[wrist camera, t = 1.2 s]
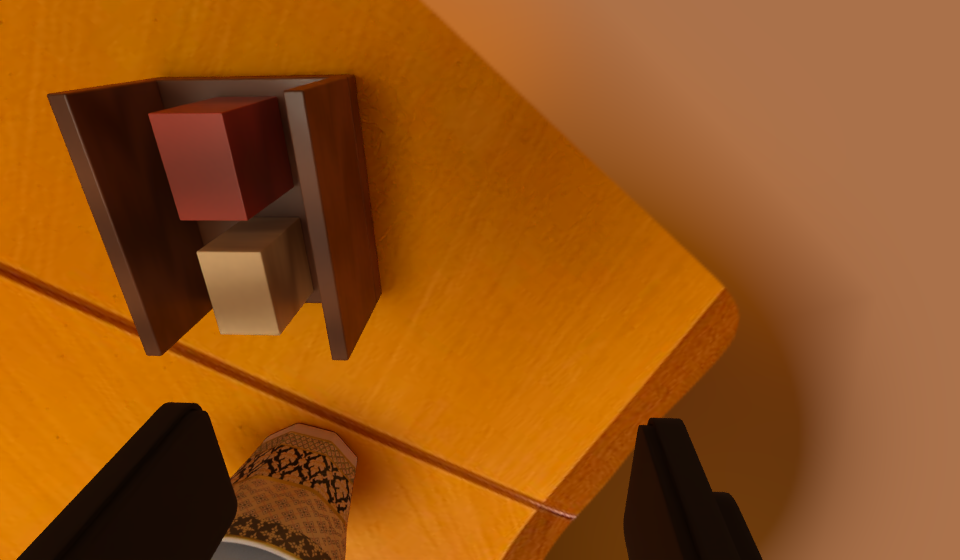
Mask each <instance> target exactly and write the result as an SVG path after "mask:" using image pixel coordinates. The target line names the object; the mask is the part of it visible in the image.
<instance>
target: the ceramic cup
mask: <svg viewBox="0 0 960 560" xmlns="http://www.w3.org/2000/svg"><path fill="white" fill-rule="evenodd" d="M356 465H357V457H356V456H355V454H354V453H353V452H352V451H351V450H350V449H349V448H348V446H347V445H346V444H345V443H344V442H343V441H342V440H341V438H340V437H339V436H338V435H337V434H336V433H335V432H331V431H327V430H323V429H319V428H315V427H312V426H308V425H304V424H295V425H293V426H290V427H288V428H286V429H283V430H281V431H279V432H276V433H274V434H272V435H270V436H268V437H267V438H266V439H265V440H264V442H263V443H262V444H261V445H260V446H259V447H258V449H257V450H256V451H255V452H254V453H253V454H252V456H251V457H250V458H249V459H248V460H247V461H246V462H245V463H244V464H243V465H242V466H241V467H240V468H239V470H238V471H237V472H236V473H235V474H234V475H233V476H232V477H231V478H230V480H231V483H232V486H233V489H234V492H235V495H236V498H237V503H238V506H237V513H236V516H235V518H234V520H233V522H232V524H231V526H230V527H229V529H228V531H227V532H226V534H225V536H224V538H223V539H222V541H221V543H220V545H219V546H218V548H217V550H216V552H215V553H214V555H213V557H212V558H211V560H345V553H346V531H347V522H348V515H349V509H350V502H351V495H352V489H353V483H354V478H355V473H356Z"/></svg>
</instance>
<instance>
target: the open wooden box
mask: <svg viewBox="0 0 960 560" xmlns="http://www.w3.org/2000/svg"><path fill="white" fill-rule="evenodd" d="M47 97H48V100H49V102H50V105H51V108H52V110H53V113H54V115H55V118H56V121H57V123H58V126H59V128H60V131H61V134H62V136H63V139H64V141H65V144H66V147H67V149H68V152H69V154H70V157H71V160H72V162H73V165H74V167H75V170H76V173H77V175H78V178H79V180H80V183H81V186H82V188H83V191H84V193H85V196H86V199H87V201H88V204H89V206H90V209H91V212H92V214H93V217H94V219H95V222H96V225H97V227H98V230H99V232H100V235H101V238H102V240H103V243H104V245H105V248H106V251H107V253H108V256H109V259H110V261H111V264H112V266H113V269H114V272H115V274H116V277H117V279H118V282H119V285H120V287H121V290H122V292H123V295H124V298H125V300H126V303H127V305H128V308H129V311H130V313H131V316H132V318H133V321H134V324H135V326H136V329H137V331H138V334H139V337H140V339H141V342H142V344H143V347H144V350H145V352H146V355H148V356H161V355H163V354H164V353H165V352H166V351H167V350H168V349H169V348H171V347H172V346H173V345H174V344H175V343H176V342H177V341H178V340H179V339H180V338H181V337H182V336H183V335H185V334H186V333H187V332H188V331H189V330H190V329H191V328H192V327H193V326H194V325H195V324H196V323H197V322H199V321H200V320H201V319H202V318H203V317H204V316H205V315H206V314H207V313H208V312H209V311H210V310H211V309H213V310H214V313H215V317H216V320H217V323H218V327H219V330H220V333H221V334H240V335H280V334H281V333H282V332H283V330H284V329H285V328H286V326H287V325H288V324H289V322H290V321H291V320H292V319H293V317H294V316H295V315H296V313H297V312H298V311H299V309H300V308H301V307H302V306H303V304H304V303H322V307H323V312H324V318H325V323H326V328H327V334H328V339H329V345H330V350H331V355H332V360H348V359H349V357H350V355H351V353H352V351H353V350H354V348H355V346H356V344H357V342H358V340H359V338H360V336H361V334H362V332H363V330H364V328H365V326H366V324H367V322H368V320H369V318H370V316H371V314H372V312H373V310H374V308H375V306H376V303H377V302H378V300H379V298H380V296H381V286H380V278H379V270H378V261H377V253H376V245H375V237H374V229H373V221H372V212H371V204H370V196H369V188H368V180H367V172H366V164H365V155H364V147H363V139H362V131H361V123H360V115H359V106H358V98H357V90H356V82H355V76H354V75H296V76H234V77H172V78H152V79H145V80H138V81H131V82H125V83H118V84H111V85H104V86H97V87H90V88H84V89H77V90H70V91H63V92H56V93H50V94H48V95H47Z"/></svg>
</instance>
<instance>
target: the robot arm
mask: <svg viewBox="0 0 960 560" xmlns="http://www.w3.org/2000/svg"><path fill="white" fill-rule="evenodd" d="M237 506H238V503H237V498H236V495H235V492H234V489H233V486H232V483H231V480H230V477H229V474H228V471H227V468H226V465H225V462H224V459H223V456H222V453H221V450H220V447H219V444H218V441H217V438H216V435H215V432H214V429H213V426H212V423H211V420H210V417H209V415H208V413H207V412H206V411H203V410H202V408H201V407H200V406H199V405H198V404H196V403H174V402H168V403H165V404H163V405H162V406H161V407H160V408H159V409H158V410H157V411H156V412H155V413H154V414H153V415H152V416H151V417H150V418H149V419H148V420H147V422H146V423H145V424H144V425H143V426H142V427H141V428H140V429H139V430H138V431H137V432H136V433H135V434H134V435H133V436H132V437H131V439H130V440H129V441H128V442H127V443H126V444H125V445H124V446H123V447H122V448H121V449H120V450H119V451H118V452H117V453H116V454H115V455H114V457H113V458H112V459H111V460H110V461H109V462H108V463H107V464H106V465H105V466H104V467H103V468H102V469H101V470H100V471H99V472H98V474H97V475H96V476H95V477H94V478H93V479H92V480H91V481H90V482H89V483H88V484H87V485H86V486H85V487H84V488H83V489H82V490H81V492H80V493H79V494H78V495H77V496H76V497H75V498H74V499H73V500H72V501H71V502H70V503H69V504H68V505H67V506H66V507H65V509H64V510H63V511H62V512H61V513H60V514H59V515H58V516H57V517H56V518H55V519H54V520H53V521H52V522H51V523H50V524H49V525H48V527H47V528H46V529H45V530H44V531H43V532H42V533H41V534H40V535H39V536H38V537H37V538H36V539H35V540H34V541H33V542H32V544H31V545H30V546H29V547H28V548H27V549H26V550H25V551H24V552H23V553H22V554H21V555H20V556H19V557H18V558H17V559H16V560H211V558H212V557H213V555H214V553H215V552H216V550H217V548H218V546H219V545H220V543H221V541H222V539H223V538H224V536H225V534H226V532H227V531H228V529H229V527H230V526H231V524H232V522H233V520H234V518H235V516H236V513H237ZM624 536H625V542H626V547H627V552H628V556H629V560H762V557H761V555H760V553H759V551H758V549H757V546H756V545H755V542H754V540H753V538H752V536H751V533H750V531H749V529H748V527H747V525H746V522H745V520H744V518H743V516H742V514H741V512H740V510H739V507H738V506H737V504H736V502H735V500H734V498H733V497H732V496H731V495H730V494H729V493H725V492H712V489H711V487H710V485H709V482H708V480H707V478H706V475H705V473H704V470H703V468H702V466H701V463H700V461H699V459H698V456H697V454H696V451H695V449H694V446H693V444H692V442H691V439H690V437H689V434H688V432H687V430H686V427H685V425H684V423H683V421H682V420H681V419H673V418H650V419H649V421H648V424H647V425H639V427H638V432H637V438H636V444H635V450H634V457H633V463H632V470H631V476H630V482H629V488H628V495H627V501H626V507H625V513H624Z"/></svg>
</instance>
